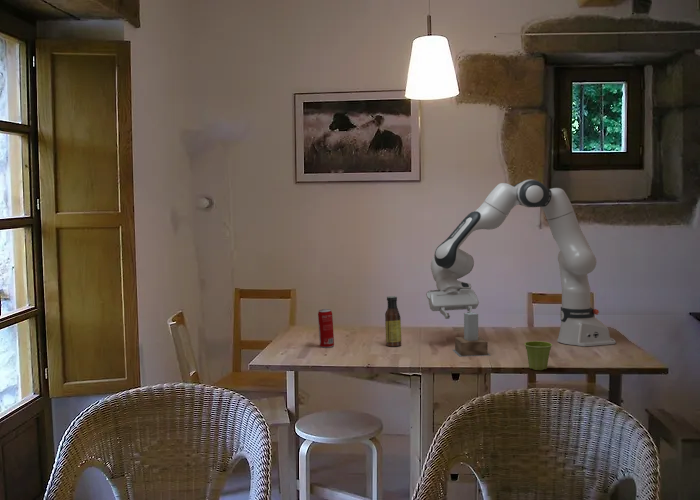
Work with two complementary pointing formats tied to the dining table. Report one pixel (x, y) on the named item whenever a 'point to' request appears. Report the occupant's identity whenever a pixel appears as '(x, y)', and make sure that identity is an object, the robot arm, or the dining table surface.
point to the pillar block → (471, 326)
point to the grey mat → (472, 355)
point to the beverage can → (326, 328)
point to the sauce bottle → (392, 323)
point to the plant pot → (538, 354)
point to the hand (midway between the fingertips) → (458, 317)
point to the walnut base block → (471, 346)
